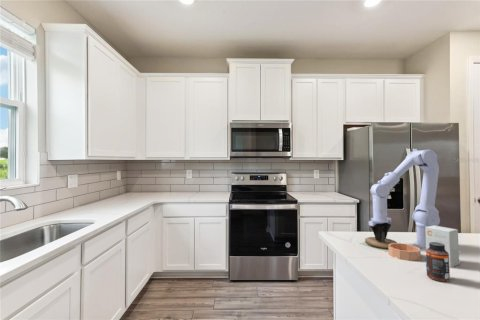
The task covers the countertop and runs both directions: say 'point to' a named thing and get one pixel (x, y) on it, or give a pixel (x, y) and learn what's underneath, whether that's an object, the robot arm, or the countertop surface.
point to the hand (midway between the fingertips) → (380, 239)
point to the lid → (376, 243)
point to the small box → (444, 241)
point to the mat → (375, 247)
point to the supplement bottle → (437, 262)
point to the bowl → (404, 251)
